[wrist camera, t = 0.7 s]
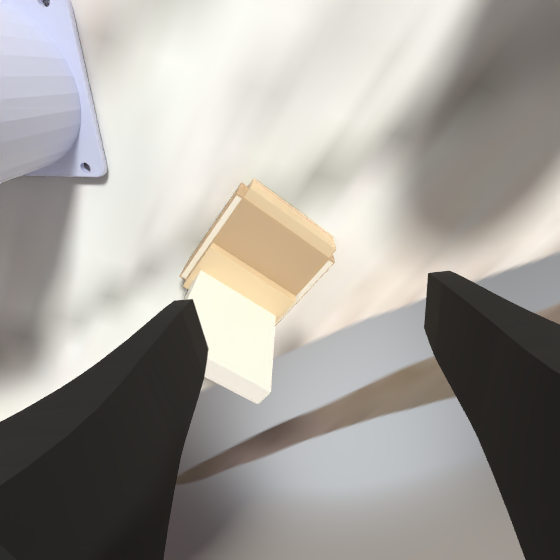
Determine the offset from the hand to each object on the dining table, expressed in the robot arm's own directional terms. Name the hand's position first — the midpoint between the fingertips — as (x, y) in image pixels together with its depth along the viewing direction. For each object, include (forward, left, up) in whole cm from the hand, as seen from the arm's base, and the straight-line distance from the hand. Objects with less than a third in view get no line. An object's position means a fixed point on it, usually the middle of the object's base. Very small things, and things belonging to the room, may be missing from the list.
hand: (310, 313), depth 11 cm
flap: (-3, -4, -8) cm, 10 cm away
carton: (-2, -3, -10) cm, 11 cm away
